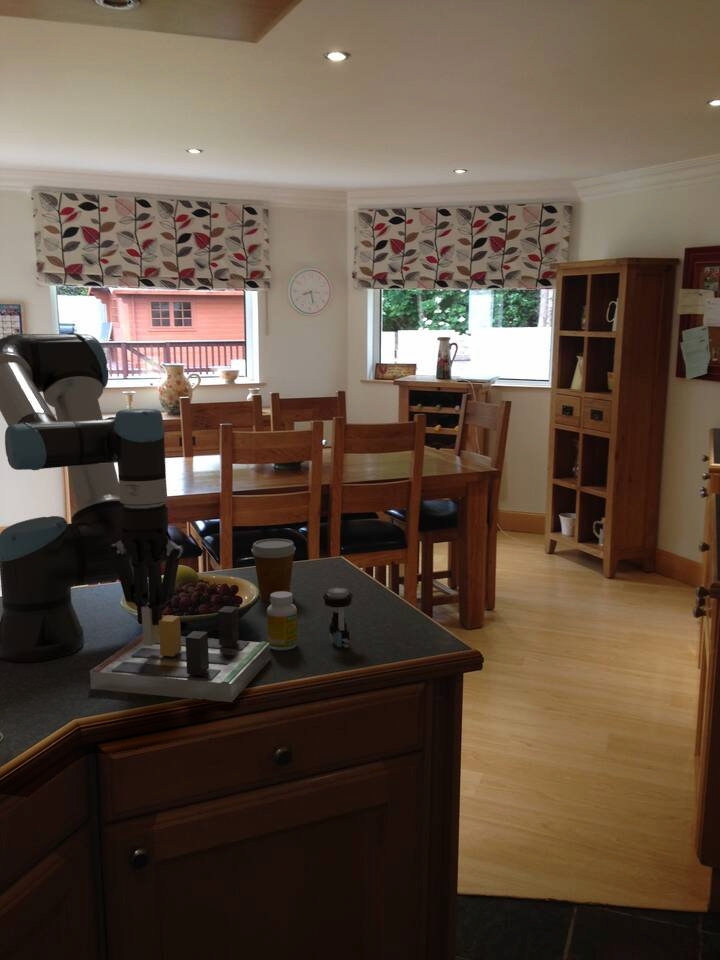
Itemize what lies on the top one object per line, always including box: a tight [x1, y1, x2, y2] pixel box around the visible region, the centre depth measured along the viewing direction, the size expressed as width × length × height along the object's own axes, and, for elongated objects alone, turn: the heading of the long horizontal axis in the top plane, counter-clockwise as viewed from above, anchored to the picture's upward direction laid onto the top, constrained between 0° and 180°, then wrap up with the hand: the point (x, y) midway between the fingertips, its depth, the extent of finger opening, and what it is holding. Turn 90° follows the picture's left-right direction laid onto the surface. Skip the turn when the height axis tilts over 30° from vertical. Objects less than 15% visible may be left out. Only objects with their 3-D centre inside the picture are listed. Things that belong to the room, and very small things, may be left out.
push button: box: [322, 587, 354, 648], centre depth 154 cm, size 7×5×10 cm
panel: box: [89, 605, 271, 703], centre depth 140 cm, size 24×18×10 cm
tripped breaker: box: [158, 615, 182, 657], centre depth 141 cm, size 2×3×6 cm
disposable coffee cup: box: [250, 538, 297, 602], centre depth 182 cm, size 10×10×12 cm
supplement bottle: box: [266, 591, 298, 651], centre depth 153 cm, size 5×5×10 cm
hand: (151, 642), depth 141 cm, fingers closed
